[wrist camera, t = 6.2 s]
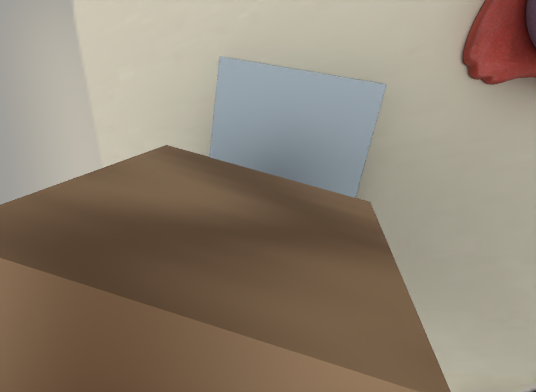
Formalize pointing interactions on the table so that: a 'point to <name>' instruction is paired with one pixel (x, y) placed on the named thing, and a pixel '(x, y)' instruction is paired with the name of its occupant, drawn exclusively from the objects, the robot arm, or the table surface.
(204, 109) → the table surface
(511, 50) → the stacking bear
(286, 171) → the base board
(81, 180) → the long brick
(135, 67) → the table surface
